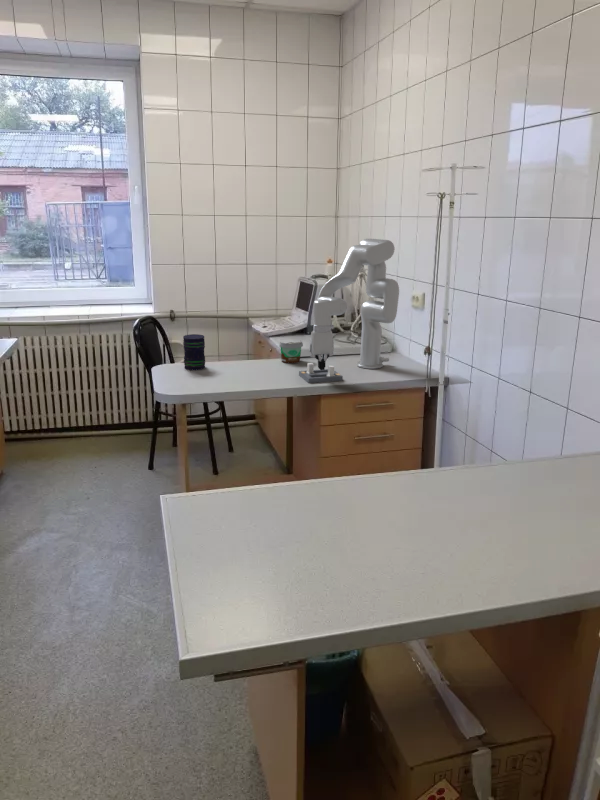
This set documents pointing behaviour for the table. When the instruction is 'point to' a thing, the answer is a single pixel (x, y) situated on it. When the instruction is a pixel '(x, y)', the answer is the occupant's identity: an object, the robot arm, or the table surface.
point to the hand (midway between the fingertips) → (321, 369)
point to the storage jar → (194, 352)
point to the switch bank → (320, 376)
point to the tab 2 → (330, 371)
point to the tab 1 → (310, 368)
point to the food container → (291, 352)
